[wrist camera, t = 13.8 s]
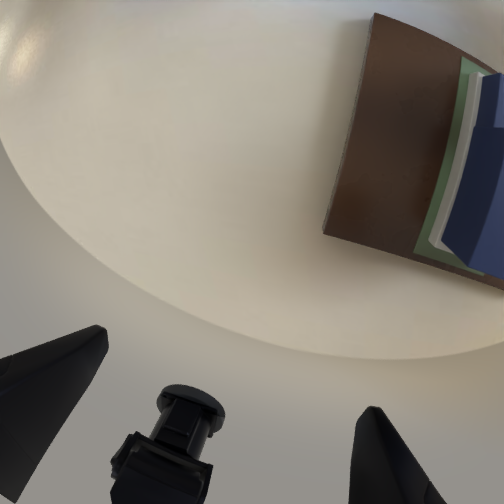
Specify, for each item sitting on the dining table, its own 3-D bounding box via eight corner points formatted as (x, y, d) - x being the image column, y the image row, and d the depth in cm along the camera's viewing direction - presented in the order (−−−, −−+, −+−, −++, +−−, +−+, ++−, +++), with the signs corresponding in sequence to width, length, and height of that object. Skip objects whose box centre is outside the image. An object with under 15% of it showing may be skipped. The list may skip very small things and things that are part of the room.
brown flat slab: (515, 290, 16) (523, 297, 15) (322, 227, 18) (322, 234, 17) (562, 133, 11) (572, 134, 9) (370, 18, 12) (374, 11, 11)
